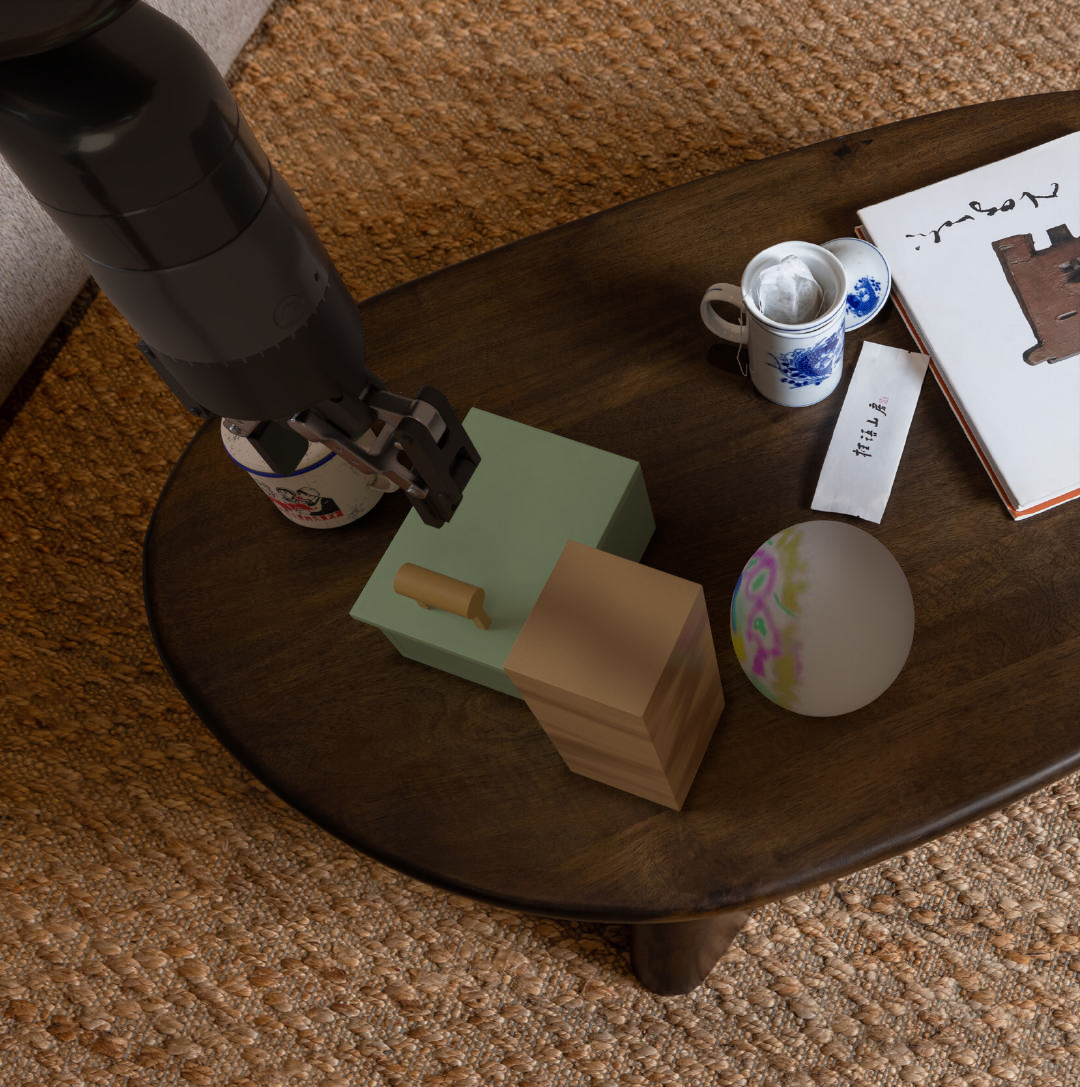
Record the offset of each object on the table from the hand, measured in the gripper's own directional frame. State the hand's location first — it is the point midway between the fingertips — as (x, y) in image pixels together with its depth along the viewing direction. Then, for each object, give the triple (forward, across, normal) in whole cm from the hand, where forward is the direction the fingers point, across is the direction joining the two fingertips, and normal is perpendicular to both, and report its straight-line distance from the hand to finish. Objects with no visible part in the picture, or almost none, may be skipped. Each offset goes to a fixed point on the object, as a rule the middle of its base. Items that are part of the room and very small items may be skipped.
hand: (367, 485), depth 59 cm
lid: (+17, 0, -6) cm, 18 cm away
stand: (+26, -12, +1) cm, 29 cm away
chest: (+26, 0, -6) cm, 27 cm away
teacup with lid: (+26, +17, -9) cm, 33 cm away
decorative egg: (+26, -21, -9) cm, 35 cm away
